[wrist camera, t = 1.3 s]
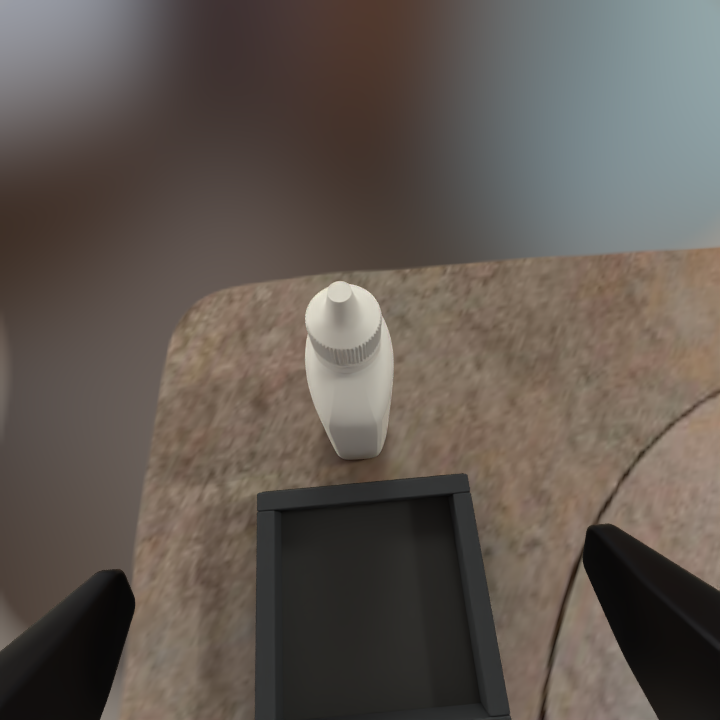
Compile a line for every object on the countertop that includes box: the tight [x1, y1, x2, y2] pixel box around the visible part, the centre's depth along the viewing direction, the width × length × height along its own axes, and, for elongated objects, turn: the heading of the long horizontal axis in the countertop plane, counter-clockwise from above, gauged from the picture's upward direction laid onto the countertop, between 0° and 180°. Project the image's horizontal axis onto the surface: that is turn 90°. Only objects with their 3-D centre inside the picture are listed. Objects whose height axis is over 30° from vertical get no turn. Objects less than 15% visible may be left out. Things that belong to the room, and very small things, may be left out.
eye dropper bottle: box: [305, 281, 394, 460], centre depth 17 cm, size 4×6×12 cm
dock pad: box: [255, 473, 511, 720], centre depth 18 cm, size 10×10×2 cm
